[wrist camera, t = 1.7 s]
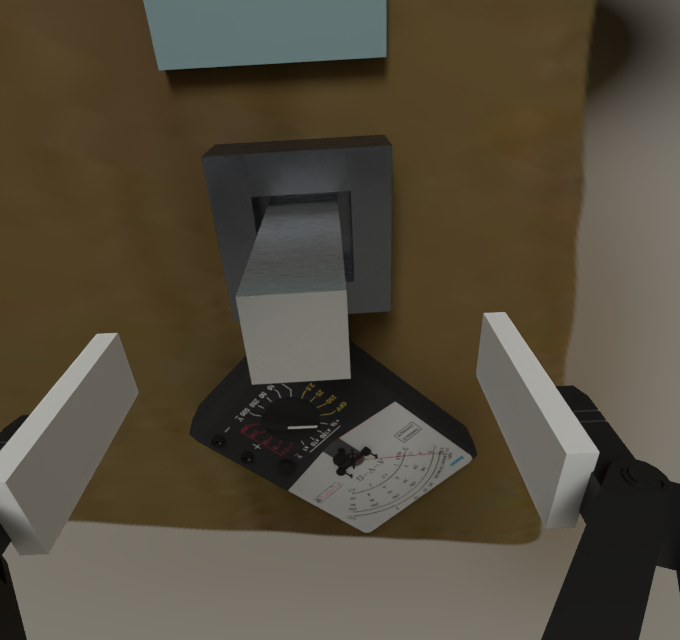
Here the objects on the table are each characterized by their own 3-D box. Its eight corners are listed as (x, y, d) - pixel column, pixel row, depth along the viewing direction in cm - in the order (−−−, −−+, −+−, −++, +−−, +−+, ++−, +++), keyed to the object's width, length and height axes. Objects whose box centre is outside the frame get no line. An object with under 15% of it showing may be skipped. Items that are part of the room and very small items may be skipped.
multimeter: (297, 297, 33) (293, 334, 29) (469, 426, 40) (487, 471, 35) (195, 404, 38) (179, 450, 33) (365, 503, 44) (370, 552, 40)
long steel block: (278, 258, 30) (251, 384, 19) (270, 197, 28) (235, 296, 16) (340, 254, 30) (350, 378, 19) (336, 193, 28) (346, 290, 16)
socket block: (241, 295, 32) (233, 320, 29) (214, 144, 27) (201, 156, 24) (384, 286, 32) (391, 311, 29) (384, 134, 27) (392, 145, 24)
